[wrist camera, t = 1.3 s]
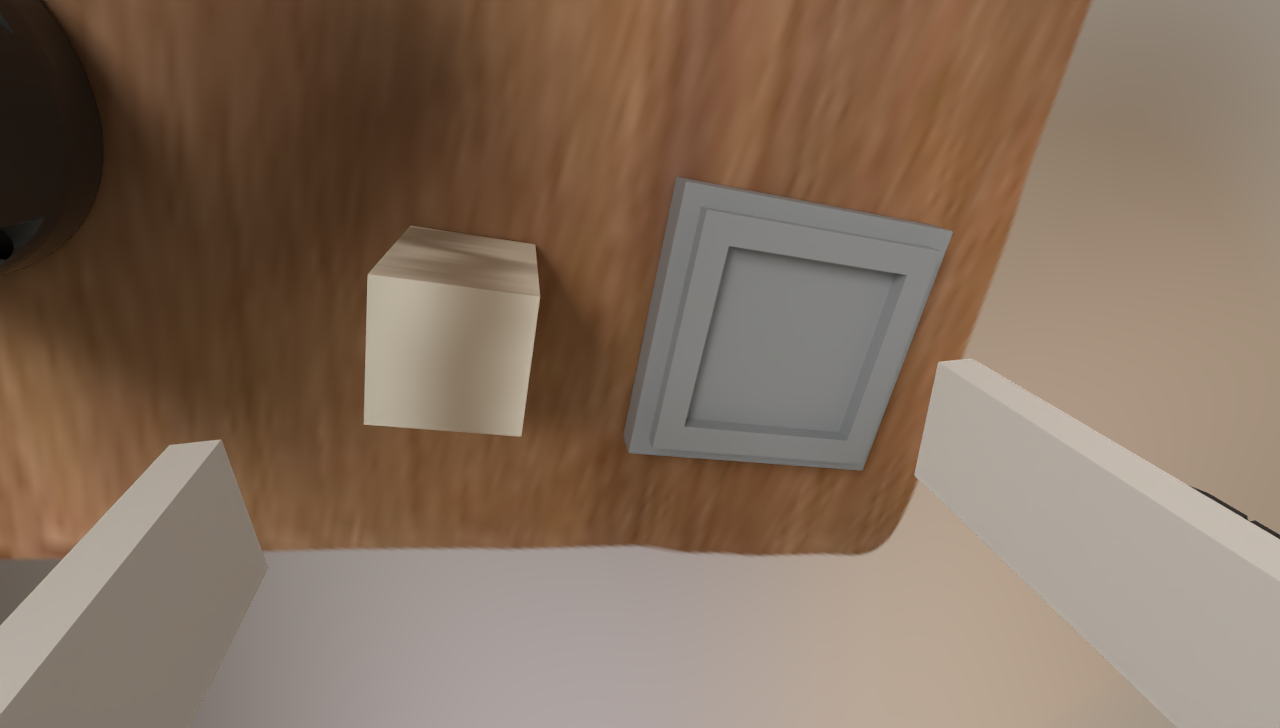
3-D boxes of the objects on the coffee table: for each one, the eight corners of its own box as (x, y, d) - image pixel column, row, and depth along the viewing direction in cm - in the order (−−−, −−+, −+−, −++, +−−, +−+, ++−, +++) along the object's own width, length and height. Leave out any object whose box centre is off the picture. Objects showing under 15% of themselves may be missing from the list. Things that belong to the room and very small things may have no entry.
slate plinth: (623, 435, 36) (631, 462, 33) (676, 176, 30) (691, 184, 28) (846, 453, 39) (870, 479, 37) (930, 224, 34) (965, 235, 31)
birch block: (404, 340, 31) (363, 424, 23) (410, 225, 29) (367, 274, 21) (521, 353, 33) (521, 436, 25) (535, 244, 31) (540, 296, 23)
